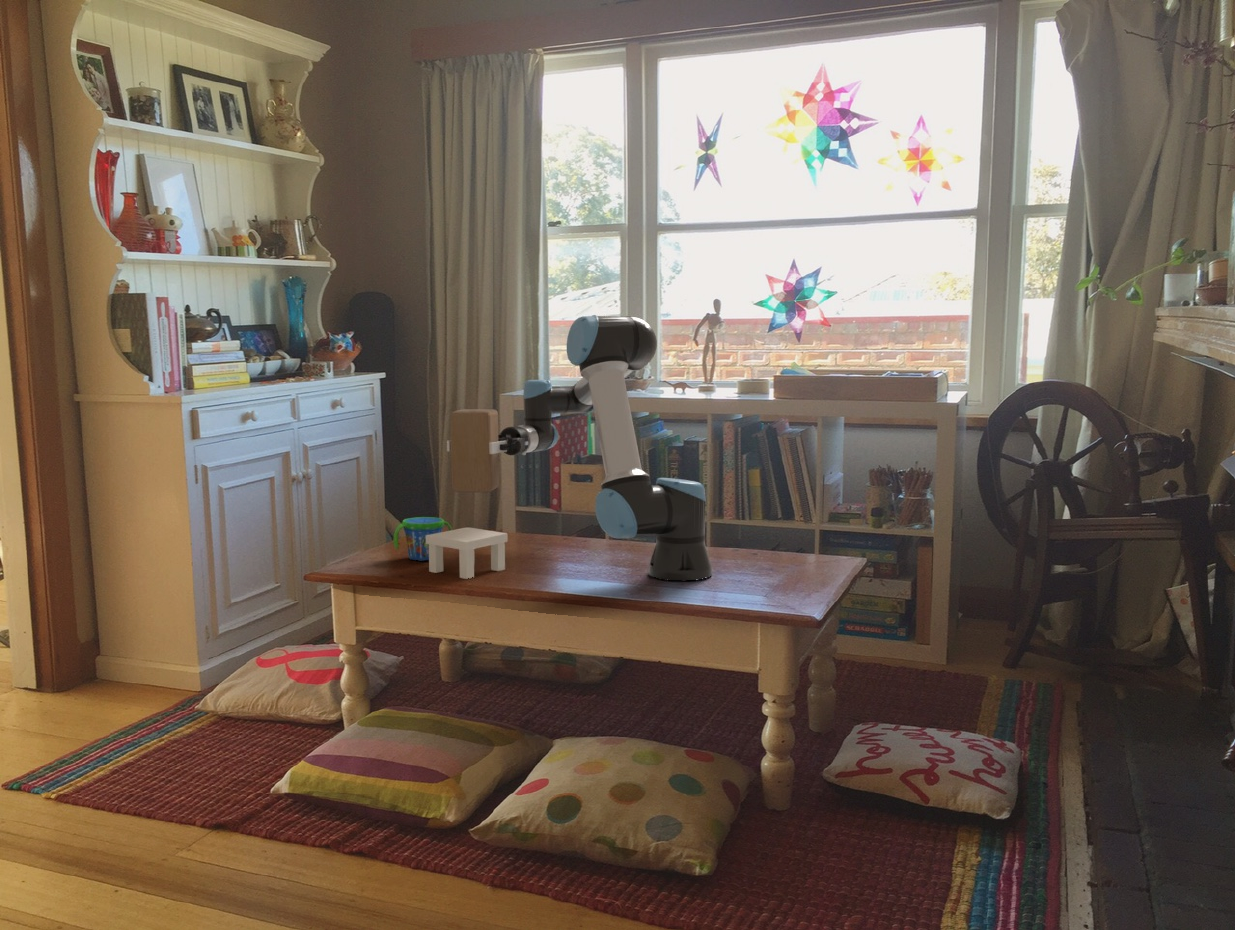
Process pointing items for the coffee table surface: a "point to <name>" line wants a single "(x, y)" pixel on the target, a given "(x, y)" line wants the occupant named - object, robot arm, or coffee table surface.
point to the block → (474, 450)
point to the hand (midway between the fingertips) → (469, 447)
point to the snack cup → (419, 535)
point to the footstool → (466, 548)
